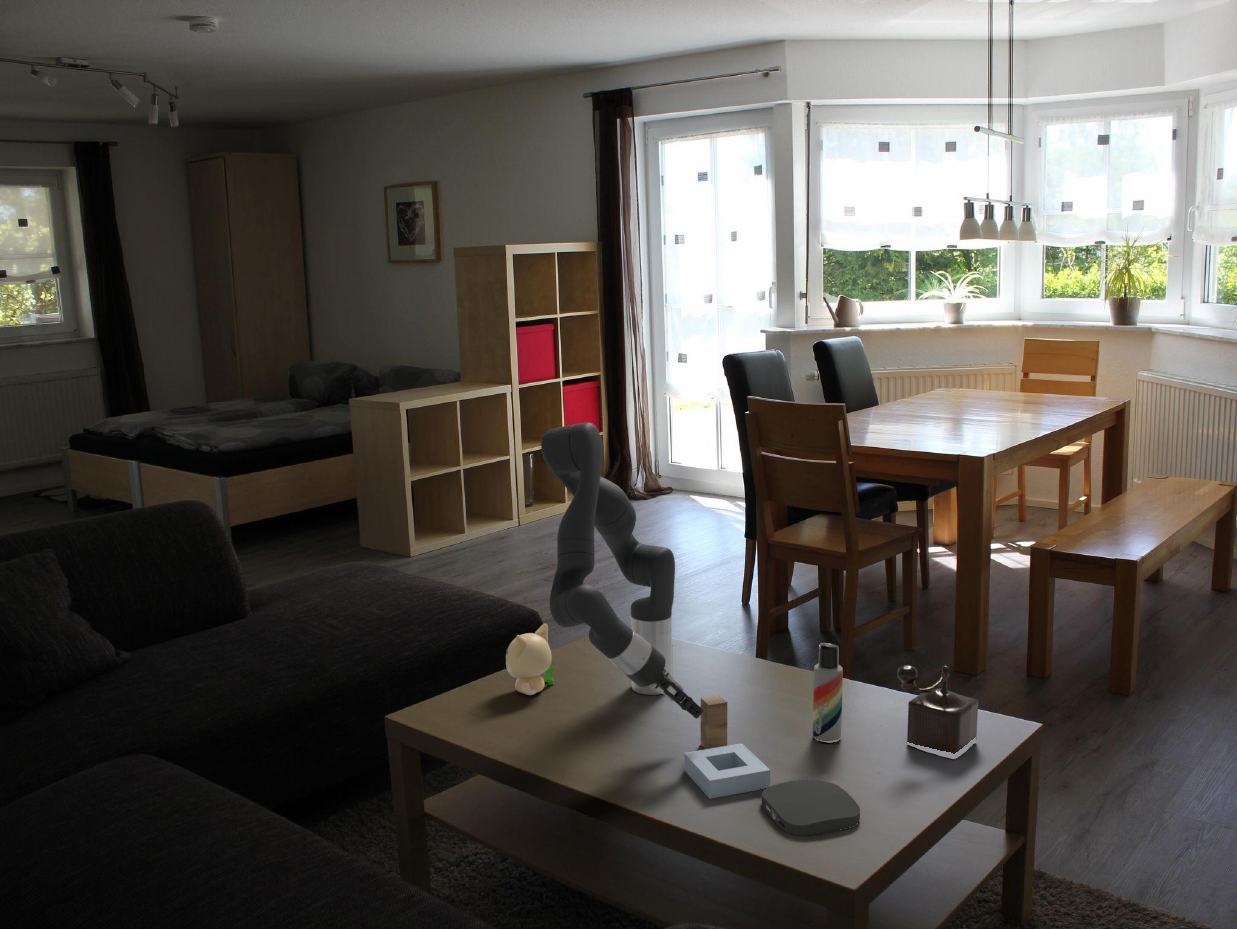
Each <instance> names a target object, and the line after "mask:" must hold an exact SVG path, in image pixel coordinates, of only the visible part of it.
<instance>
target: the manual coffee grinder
mask: <svg viewBox="0 0 1237 929" xmlns="http://www.w3.org/2000/svg"><path fill="white" fill-rule="evenodd" d="M941 670H942V672H941V676H940V678H939V679H938V680H937V682H935V683H934V684H933V685H932V686H927V687H926V688H920V687H919V688H918V687H917V684H916V682H915V680H916V679H917V678H918V670H917V668H916V667H915V666H912V665H910V664H904V665H902V666H899V667H898V669H897V675H896V676H897V679H899V680H900V681H901V689H903V690H904V691H909V692H910V691H911V692H914V693H918V695H917V696H916V697H914V698H912V699H911V700H909V701H908V705H907V706H908V707H907V708H908V710H907V712H908V714H907V736H906V738H907V740H906V743H907V742H909V743H913V744H915V745H920V746H924V747H929V748H932V749H937V750H940V751H946V752H951V753H953V754H955V753H956V752H958V751H959V750H960V749H962V748H963V747H964V746H965V745H967V744H968V743H969V742H970V741H971V740H973V739H974V738H975V737H976V738H977V733H978V732H977V731H978V730H977V728H978V717H979V715H978V714H979V700H978V699H975V698H973V697H969V696H966V695H961V694H958V693H955V692H952V691H951V690H948V678H950V673H949V671H950V667H949V665H943V666H942V668H941ZM939 687H941V688H939Z"/></svg>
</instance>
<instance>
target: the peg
mask: <svg viewBox="0 0 1237 929" xmlns="http://www.w3.org/2000/svg"><path fill="white" fill-rule="evenodd" d="M700 707H701V708H702V709H703V713H702V714H701V715H700V746H701V747H702V748H703V750H705V749H711V748H717V747H723V746H728V701H727V700H726V699H724V698H723V696H721V695H720V694H716V695H709V696H703V697H700Z"/></svg>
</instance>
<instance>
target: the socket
mask: <svg viewBox="0 0 1237 929" xmlns="http://www.w3.org/2000/svg"><path fill="white" fill-rule="evenodd" d="M683 757H684V760H683V761H684V766H683V768H684V772H685V773H686V774H687V775H688V777H690V778H691V780H692V781H693V782H694V783H695V784H696V785H697V786H698V787H699V788H700V789H701V791H702V792H703V793H704V794H705V795H706V797H707V798H708V799H710V800H711V799H716V798H721V797H727V796H732V795H739V794H743V793H749V792H754V791H755V792H756V791H759V790H760V789H761V790H765V788H766V789H767V788H768V787H770V786H771V769H770V768H769V767H768V766H767V765H765V763H763V761H762V760H760V759H759V757H757V756H756V755H755V754H754V753H753V752H752V751H751V750H750V749H748V747H746V745H744V744H743V743H737V744H729V745H727V746H723V747H717V748H711V749H699V750H694V751H689V752H688V751H687V752H684V754H683Z"/></svg>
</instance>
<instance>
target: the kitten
mask: <svg viewBox="0 0 1237 929" xmlns="http://www.w3.org/2000/svg"><path fill="white" fill-rule="evenodd" d="M548 634H549V625H548V624H547V623H543V624H542V625H541V626H540V627H539V628H538V629H537V630H536V631H535V632H534V633H533V632H528V633H527V632H526V633H523V634H520V635H519V634H516V637H515V638H513V640H512V641H511V642H510V643H509V645H508V647H507V649H506V650H505V666H506V670H507V672H508V674H509V675H510V676H511V677H513V678H516V680H515V684H514V687H515V690H516V691H517V692H519V693H522V694H525V695H527V696H533V695H535V694H537V693H540V692H541V691H543V689H544V688H545V683H547V686H554V684H555V680H554V678H553V671H554V670H553V666H552V659H553V658H552V651H551V647H550V644H549V636H548ZM542 674H543V676H542Z"/></svg>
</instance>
